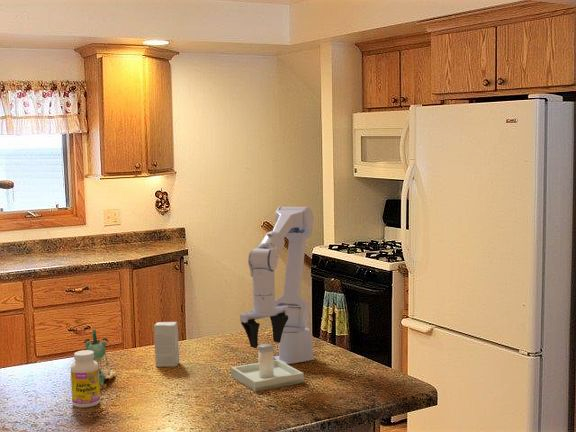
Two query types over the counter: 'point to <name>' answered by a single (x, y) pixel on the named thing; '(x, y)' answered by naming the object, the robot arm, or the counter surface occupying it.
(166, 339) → the skincare box
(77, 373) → the supplement bottle
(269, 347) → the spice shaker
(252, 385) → the tray
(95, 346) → the frog figurine
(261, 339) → the counter surface
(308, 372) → the counter surface
